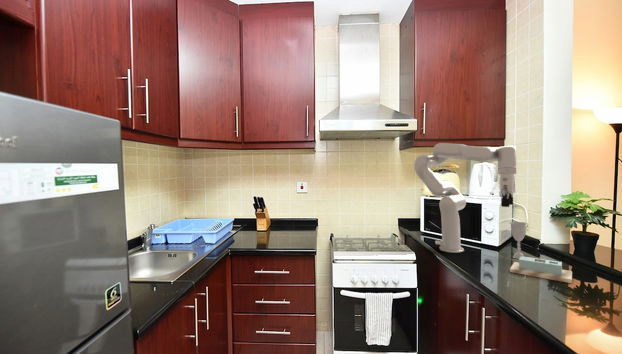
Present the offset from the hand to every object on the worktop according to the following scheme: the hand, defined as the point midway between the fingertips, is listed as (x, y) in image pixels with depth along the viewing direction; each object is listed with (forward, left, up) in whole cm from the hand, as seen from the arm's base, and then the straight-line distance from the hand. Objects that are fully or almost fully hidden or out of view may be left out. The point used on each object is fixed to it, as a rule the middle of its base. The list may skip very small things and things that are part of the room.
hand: (507, 205), depth 137 cm
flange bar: (+13, -11, -26) cm, 31 cm away
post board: (+13, -11, -28) cm, 32 cm away
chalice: (+3, +9, -28) cm, 30 cm away
